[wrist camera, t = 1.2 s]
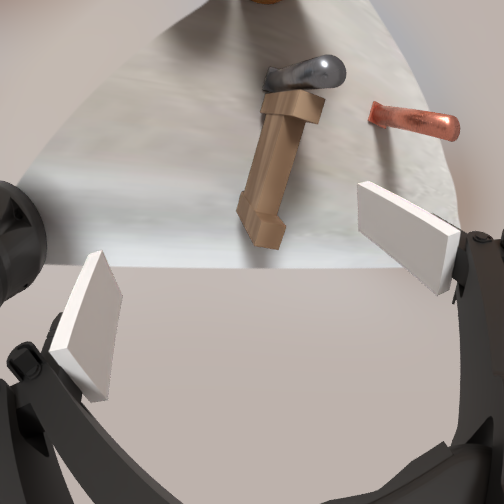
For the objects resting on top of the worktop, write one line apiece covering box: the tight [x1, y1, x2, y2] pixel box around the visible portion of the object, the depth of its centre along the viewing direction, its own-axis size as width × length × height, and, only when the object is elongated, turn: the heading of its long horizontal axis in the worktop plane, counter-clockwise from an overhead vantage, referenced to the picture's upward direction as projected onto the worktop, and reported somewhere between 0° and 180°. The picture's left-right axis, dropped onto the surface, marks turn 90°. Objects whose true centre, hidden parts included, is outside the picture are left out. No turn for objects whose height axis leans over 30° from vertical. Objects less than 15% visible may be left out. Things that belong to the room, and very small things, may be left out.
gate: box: [236, 90, 325, 250], centre depth 28 cm, size 2×13×11 cm, turn 164°
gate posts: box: [263, 55, 460, 142], centre depth 26 cm, size 17×4×13 cm, turn 74°
